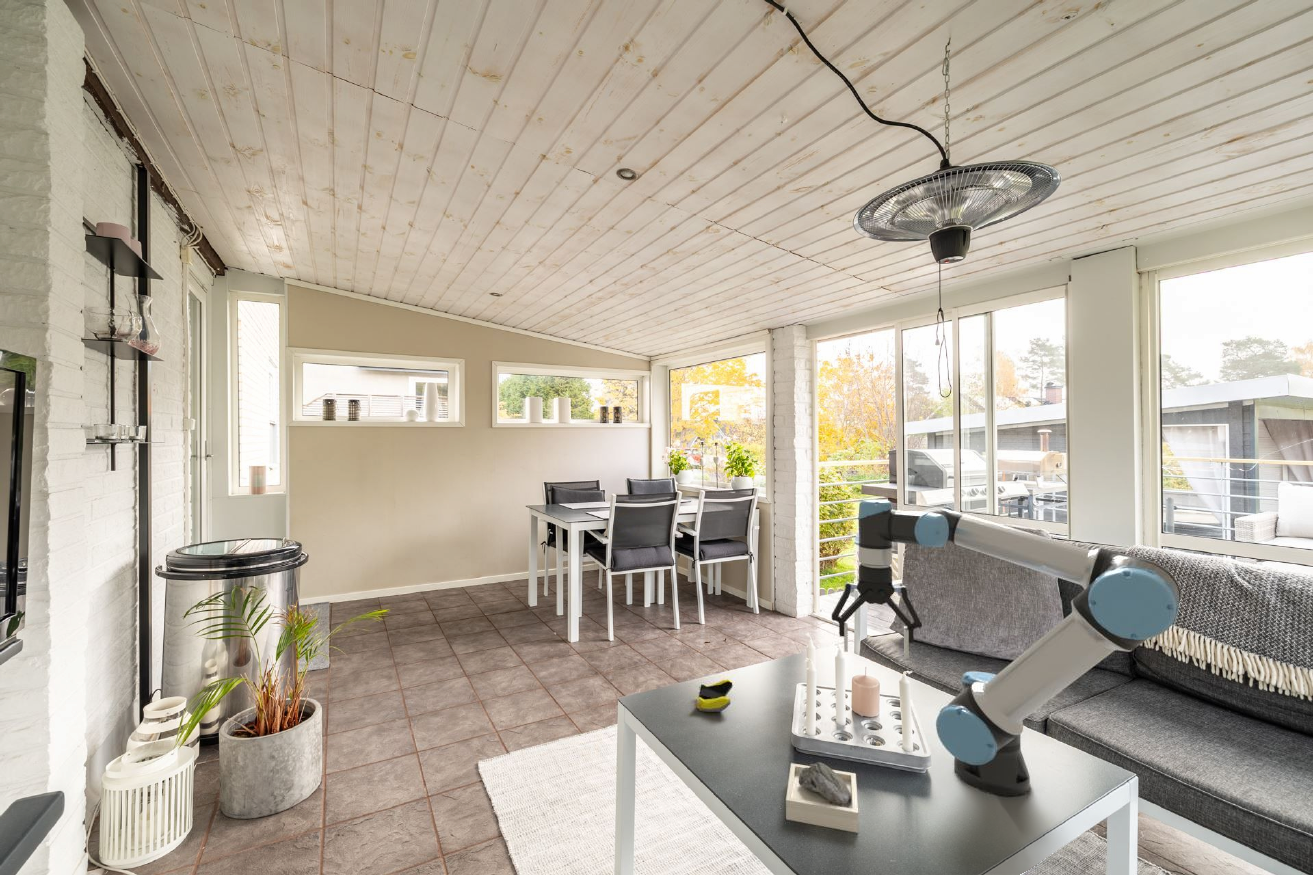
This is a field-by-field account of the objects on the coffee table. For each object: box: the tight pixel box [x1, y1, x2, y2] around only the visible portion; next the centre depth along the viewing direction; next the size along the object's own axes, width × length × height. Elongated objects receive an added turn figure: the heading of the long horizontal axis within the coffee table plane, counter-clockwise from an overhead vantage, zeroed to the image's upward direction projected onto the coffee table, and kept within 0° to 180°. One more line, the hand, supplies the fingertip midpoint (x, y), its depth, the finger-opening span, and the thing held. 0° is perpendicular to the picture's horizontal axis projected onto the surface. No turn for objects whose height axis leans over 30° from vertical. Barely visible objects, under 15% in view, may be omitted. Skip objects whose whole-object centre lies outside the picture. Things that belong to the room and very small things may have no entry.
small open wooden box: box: [785, 762, 859, 834], centre depth 124 cm, size 14×14×4 cm
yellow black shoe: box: [695, 678, 734, 713], centre depth 170 cm, size 15×6×10 cm
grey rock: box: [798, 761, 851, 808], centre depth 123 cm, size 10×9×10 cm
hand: (875, 652), depth 139 cm, fingers open, 13 cm apart
